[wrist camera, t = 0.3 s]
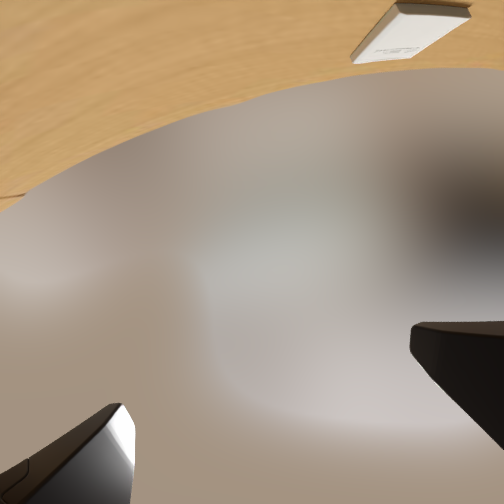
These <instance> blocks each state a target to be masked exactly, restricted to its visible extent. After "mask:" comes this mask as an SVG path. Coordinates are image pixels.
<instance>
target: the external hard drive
mask: <svg viewBox="0 0 504 504" xmlns="http://www.w3.org/2000/svg"><path fill="white" fill-rule="evenodd" d="M470 18H471V14H470V12H469V11H468V9H467V8H461V7H452V6H443V5H430V4H410V3H395V4H394V5H393V6H392V7H391V8H390V9H389V10H388V12H387V13H386V14H385V15H384V16H383V17H382V19H381V20H380V21H379V22H378V23H377V24H376V26H375V27H374V28H373V29H372V30H371V32H370V33H369V34H368V35H367V36H366V38H365V39H364V40H363V41H362V42H361V44H360V45H359V46H358V47H357V48H356V50H355V51H354V52H353V53H352V54H351V56H350V58H351V60H352V63H355V64H360V63H367V62H374V61H383V60H394V59H405V58H411V57H413V56H414V55H416V54H417V53H418V52H420V51H421V50H423V49H424V48H426V47H427V46H429V45H430V44H432V43H433V42H435V41H436V40H438V39H439V38H441V37H442V36H444V35H446V34H447V33H449V32H450V31H452V30H453V29H455V28H456V27H458V26H459V25H461V24H462V23H464V22H466V21H467V20H469V19H470Z"/></svg>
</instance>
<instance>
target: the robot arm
mask: <svg viewBox="0 0 504 504" xmlns="http://www.w3.org/2000/svg"><path fill="white" fill-rule="evenodd" d="M410 352H411V354H412V356H413V357H414V358H415V359H416V360H417V362H418V363H419V364H420V365H421V367H422V368H423V369H424V370H425V371H426V373H427V374H428V375H429V376H430V377H431V379H432V380H433V381H434V382H435V383H436V384H437V385H438V386H439V387H440V388H441V389H442V390H443V391H444V392H445V393H446V394H447V395H448V396H449V397H451V399H452V400H454V401H455V402H456V403H457V404H458V405H459V406H460V407H461V408H462V409H463V410H464V411H465V412H466V413H467V414H468V415H469V416H470V417H471V418H472V419H473V420H474V421H475V422H476V423H477V424H478V425H479V426H480V427H481V428H482V429H483V430H484V431H485V432H486V433H487V434H488V435H489V436H490V437H491V438H492V439H493V440H494V441H495V442H496V443H497V444H498V445H499V446H500V447H501V448H502V449H503V450H504V321H487V322H420V323H418V324H416V325H414V326H413V327H412V328H411V335H410ZM134 462H135V427H134V423H133V421H132V419H131V417H130V416H129V414H128V412H127V410H126V409H125V407H124V405H123V404H122V403H113V404H109V405H107V406H106V407H104V408H103V409H101V410H100V411H98V412H97V413H96V414H94V415H93V416H91V417H90V418H88V419H87V420H85V421H84V422H82V423H81V424H80V425H78V426H76V427H75V428H74V429H72V430H70V431H69V432H67V433H66V434H64V435H63V436H62V437H60V438H59V439H57V440H55V441H54V442H52V443H51V444H49V445H48V446H46V447H45V448H43V449H42V450H40V451H39V452H37V453H36V454H34V455H32V456H31V457H29V459H25V460H23V461H22V462H20V463H19V464H17V465H16V466H14V467H12V468H10V469H9V470H7V471H5V472H3V473H1V474H0V504H130V498H131V489H132V482H133V474H134Z"/></svg>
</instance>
